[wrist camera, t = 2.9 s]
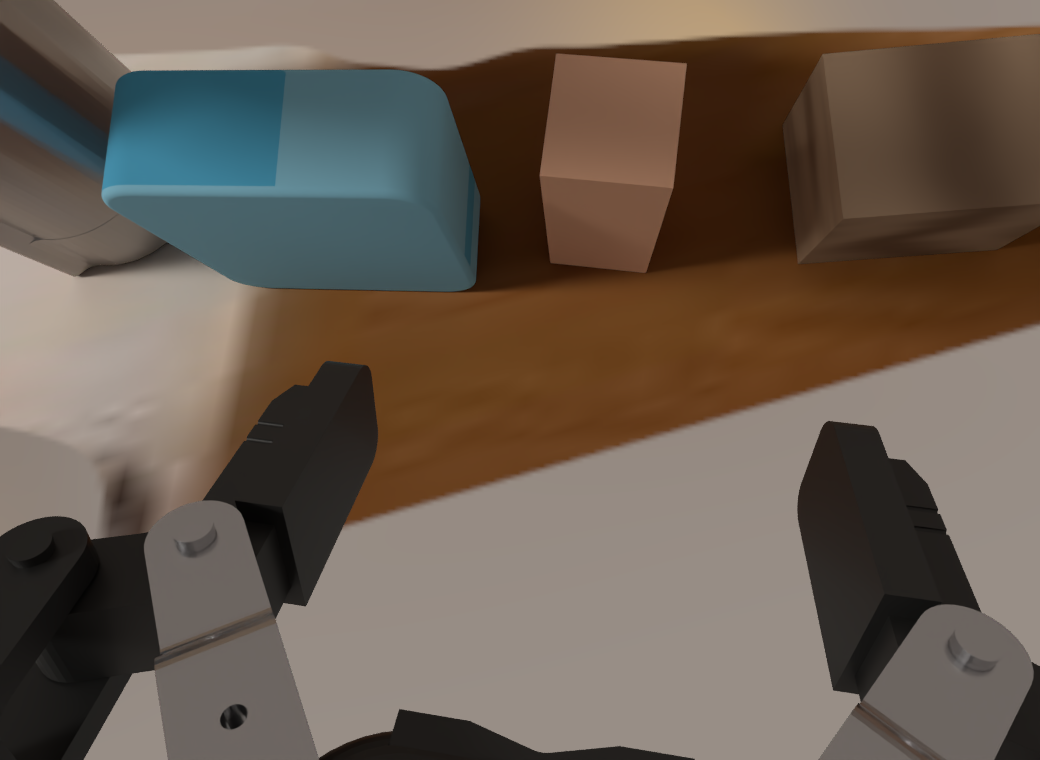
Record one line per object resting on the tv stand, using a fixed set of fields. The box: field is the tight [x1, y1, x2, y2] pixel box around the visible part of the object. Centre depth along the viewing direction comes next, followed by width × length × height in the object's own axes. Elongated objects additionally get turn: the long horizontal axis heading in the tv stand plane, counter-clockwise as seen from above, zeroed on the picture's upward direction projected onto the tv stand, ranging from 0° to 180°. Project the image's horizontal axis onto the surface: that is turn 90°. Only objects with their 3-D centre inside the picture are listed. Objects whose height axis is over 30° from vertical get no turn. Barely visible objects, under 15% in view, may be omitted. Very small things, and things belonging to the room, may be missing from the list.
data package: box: [101, 70, 480, 292], centre depth 30 cm, size 12×4×12 cm, turn 88°
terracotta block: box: [540, 53, 687, 273], centre depth 30 cm, size 5×5×10 cm
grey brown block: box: [783, 34, 1040, 264], centre depth 31 cm, size 9×7×6 cm
